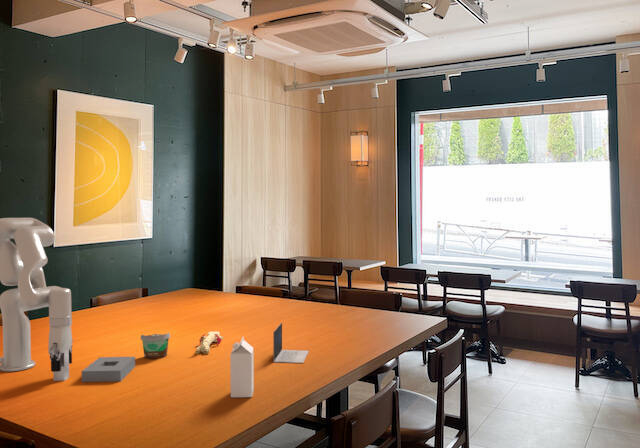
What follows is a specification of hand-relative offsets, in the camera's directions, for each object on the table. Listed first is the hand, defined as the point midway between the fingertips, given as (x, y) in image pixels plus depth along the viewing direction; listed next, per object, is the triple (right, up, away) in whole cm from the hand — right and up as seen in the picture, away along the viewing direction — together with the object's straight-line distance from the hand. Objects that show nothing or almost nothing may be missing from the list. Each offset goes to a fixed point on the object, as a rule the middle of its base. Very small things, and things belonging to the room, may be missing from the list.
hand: (61, 367), depth 195 cm
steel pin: (0, -5, 0) cm, 5 cm away
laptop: (+84, -4, +29) cm, 89 cm away
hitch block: (+15, -4, +6) cm, 17 cm away
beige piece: (+45, -4, +46) cm, 64 cm away
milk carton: (+70, -5, -16) cm, 72 cm away
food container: (+26, -4, +28) cm, 38 cm away
